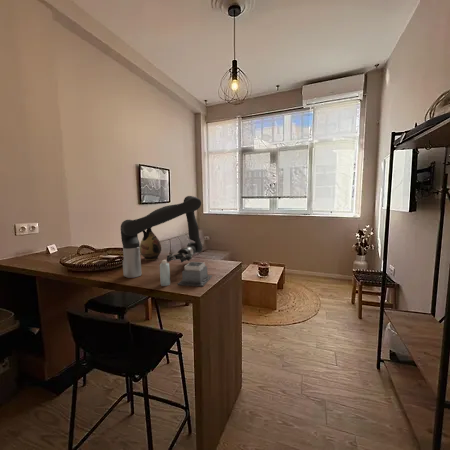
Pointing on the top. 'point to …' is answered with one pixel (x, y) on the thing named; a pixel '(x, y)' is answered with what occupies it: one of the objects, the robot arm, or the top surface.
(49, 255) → the top surface
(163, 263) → the bottle
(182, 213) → the robot arm
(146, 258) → the ceramic jug
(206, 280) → the grey socket base
